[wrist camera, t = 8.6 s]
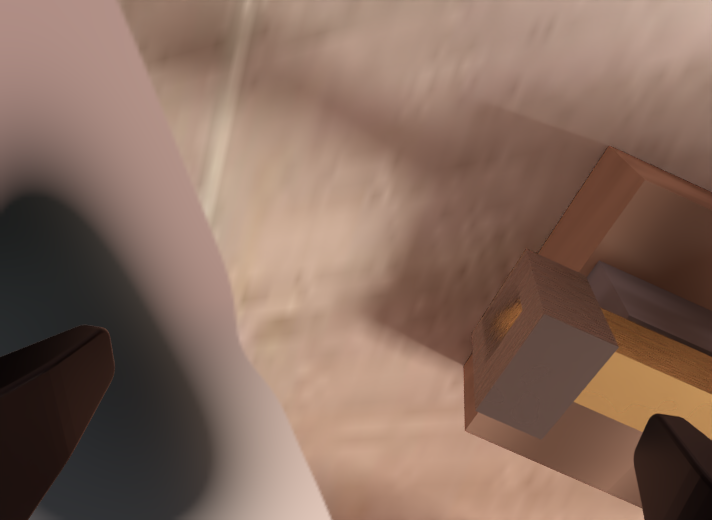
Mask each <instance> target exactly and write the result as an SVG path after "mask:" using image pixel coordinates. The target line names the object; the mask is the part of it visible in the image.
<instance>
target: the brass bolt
mask: <svg viewBox="0 0 712 520" xmlns="http://www.w3.org/2000/svg"><path fill="white" fill-rule="evenodd" d="M472 353H473V375H474V396H475V411H477V412H479V413H481V414H483V415H486V416H488V417H490V418H493V419H495V420H497V421H499V422H502V423H504V424H506V425H509V426H511V427H513V428H515V429H518V430H520V431H522V432H525V433H527V434H529V435H531V436H534V437H536V438H538V439H541V440H542V439H543V438H544V437H545V435H546V434H547V433H548V432H549V431H550V429H551V428H552V427H553V426H554V425H555V423H556V422H557V421H558V420H559V419H560V417H561V416H562V415H563V414H564V413H565V411H566V410H567V409H568V408H569V407H570V405H571V404H572V403H573V402H575V403H578V404H580V405H582V406H584V407H587V408H589V409H591V410H593V411H596V412H598V413H600V414H603V415H605V416H607V417H609V418H612V419H614V420H616V421H618V422H621V423H623V424H625V425H627V426H630V427H632V428H634V429H637V430H639V431H641V432H643V431H644V428H645V426H646V424H647V422H648V420H649V418H650V417H651V416H652V415H653V414H657V413H660V414H666V415H673V416H679V417H682V418H684V419H685V420H687V421H688V422H689V423H691V424H692V425H693V426H694V427H696V428H697V429H698V430H699V431H701V432H702V433H703V434H704V435H706V436H707V437H708V438H710V439H711V440H712V357H711V356H708V355H706V354H704V353H702V352H700V351H697V350H695V349H693V348H691V347H688V346H686V345H684V344H682V343H679V342H677V341H675V340H673V339H670V338H668V337H666V336H664V335H661V334H659V333H657V332H655V331H653V330H650V329H648V328H646V327H644V326H641V325H639V324H637V323H635V322H632V321H630V320H628V319H626V318H623V317H621V316H619V315H617V314H615V313H612V312H610V311H608V310H606V309H603V308H601V307H600V306H599V303H598V301H597V299H596V297H595V295H594V293H593V291H592V288H591V286H590V284H589V282H588V280H587V278H586V276H585V275H584V274H581V273H579V272H577V271H575V270H572V269H570V268H568V267H566V266H563V265H561V264H559V263H557V262H555V261H552V260H550V259H548V258H546V257H543V256H541V255H539V254H537V253H534V252H532V251H530V250H528V249H525V251H524V253H523V254H522V256H521V257H520V259H519V260H518V262H517V263H516V265H515V267H514V268H513V270H512V271H511V273H510V274H509V276H508V278H507V279H506V281H505V282H504V284H503V285H502V287H501V288H500V290H499V292H498V293H497V295H496V296H495V298H494V299H493V301H492V302H491V304H490V306H489V307H488V309H487V310H486V312H485V313H484V315H483V316H482V318H481V320H480V321H479V323H478V324H477V326H476V327H475V329H474V330H473V332H472Z"/></svg>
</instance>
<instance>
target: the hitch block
mask: <svg viewBox="0 0 712 520" xmlns="http://www.w3.org/2000/svg"><path fill="white" fill-rule="evenodd" d="M538 254H539V255H541V256H543V257H546V258H548V259H550V260H552V261H555V262H557V263H559V264H561V265H563V266H566V267H568V268H570V269H572V270H575V271H577V272H579V273H581V274H584V275H585V276H586V278H587V280H588V282H589V284H590V286H591V288H592V291H593V293H594V295H595V297H596V299H597V301H598V303H599V306H600V307H601V308H603V309H606V310H608V311H610V312H612V313H615V314H617V315H619V316H621V317H623V318H626V319H628V320H630V321H632V322H635V323H637V324H639V325H641V326H644V327H646V328H648V329H650V330H653V331H655V332H657V333H659V334H661V335H664V336H666V337H668V338H670V339H673V340H675V341H677V342H679V343H682V344H684V345H686V346H688V347H691V348H693V349H695V350H697V351H700V352H702V353H704V354H706V355H708V356H711V357H712V192H710V191H708V190H705V189H703V188H701V187H699V186H697V185H694V184H692V183H690V182H688V181H686V180H684V179H681V178H679V177H677V176H675V175H673V174H670V173H668V172H666V171H664V170H662V169H659V168H657V167H655V166H653V165H651V164H648V163H646V162H644V161H642V160H640V159H638V158H635V157H633V156H631V155H629V154H627V153H624V152H622V151H620V150H618V149H616V148H613V147H611V146H608V148H607V149H606V151H605V152H604V154H603V156H602V157H601V159H600V160H599V162H598V163H597V165H596V166H595V168H594V169H593V171H592V172H591V174H590V175H589V177H588V178H587V180H586V181H585V183H584V184H583V186H582V187H581V189H580V190H579V192H578V193H577V195H576V197H575V198H574V200H573V201H572V203H571V204H570V206H569V207H568V209H567V210H566V212H565V213H564V215H563V216H562V218H561V219H560V221H559V222H558V224H557V225H556V227H555V228H554V230H553V231H552V233H551V234H550V236H549V238H548V239H547V241H546V242H545V244H544V245H543V247H542V248H541V250H540V251H539V253H538ZM464 411H465V431H466V432H468V433H471V434H473V435H475V436H478V437H480V438H482V439H485V440H487V441H489V442H491V443H494V444H496V445H498V446H501V447H503V448H505V449H507V450H510V451H512V452H514V453H517V454H519V455H521V456H523V457H526V458H528V459H530V460H533V461H535V462H537V463H540V464H542V465H544V466H546V467H549V468H551V469H553V470H556V471H558V472H560V473H562V474H565V475H567V476H569V477H572V478H574V479H576V480H578V481H581V482H583V483H585V484H588V485H590V486H592V487H595V488H597V489H599V490H601V491H604V492H606V493H608V494H611V495H613V496H615V497H617V498H620V499H622V500H624V501H627V502H629V503H631V504H633V505H636V506H638V507H640V508H642V504H641V499H640V494H639V489H638V484H637V479H636V474H635V469H634V461H633V458H634V451H635V448H636V446H637V444H638V442H639V439H640V437H641V435H642V433H643V432H641V431H639V430H637V429H634V428H632V427H630V426H627V425H625V424H623V423H621V422H618V421H616V420H614V419H612V418H609V417H607V416H605V415H603V414H600V413H598V412H596V411H593V410H591V409H589V408H587V407H584V406H582V405H580V404H578V403H575V402H573V403H572V404H571V405H570V407H569V408H568V409H567V410H566V411H565V413H564V414H563V415H562V416H561V417H560V419H559V420H558V421H557V422H556V423H555V425H554V426H553V427H552V428H551V429H550V431H549V432H548V433H547V434H546V435H545V437H544V438H543V439H542V440H541V439H538V438H536V437H534V436H531V435H529V434H527V433H525V432H522V431H520V430H518V429H515V428H513V427H511V426H509V425H506V424H504V423H502V422H499V421H497V420H495V419H493V418H490V417H488V416H486V415H483V414H481V413H479V412H477V411H475V396H474V375H473V353H472V354H471V356H470V357H469V359H468V360H467V362H466V364H465V365H464Z"/></svg>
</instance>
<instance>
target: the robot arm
mask: <svg viewBox="0 0 712 520" xmlns="http://www.w3.org/2000/svg"><path fill="white" fill-rule="evenodd" d="M114 371H115V363H114V357H113V351H112V345H111V339H110V335H109V333H108V331H107V330H106V329H105V328H103V327H96V326H90V325H80V326H78V327H75V328H72V329H70V330H67V331H65V332H62V333H60V334H57V335H55V336H52V337H50V338H47V339H45V340H42V341H40V342H37V343H35V344H32V345H29V346H27V347H25V348H22V349H19V350H17V351H14V352H12V353H9V354H7V355H4V356H2V357H0V520H28V519H29V518H30V516H31V515H32V513H33V512H34V510H35V509H36V507H37V506H38V504H39V503H40V501H41V500H42V499H43V497H44V496H45V494H46V492H47V491H48V490H49V488H50V487H51V485H52V484H53V482H54V481H55V479H56V478H57V476H58V475H59V473H60V472H61V470H62V469H63V467H64V465H65V464H66V462H67V461H68V460H69V458H70V456H71V455H72V453H73V451H74V449H75V448H76V446H77V444H78V442H79V441H80V438H81V437H82V435H83V433H84V431H85V429H86V427H87V426H88V424H89V422H90V420H91V418H92V416H93V414H94V412H95V411H96V409H97V407H98V405H99V403H100V401H101V400H102V397H103V396H104V394H105V392H106V390H107V388H108V387H109V385H110V383H111V381H112V379H113V376H114ZM633 461H634V469H635V474H636V479H637V484H638V489H639V494H640V499H641V504H642V509H643V514H644V519H645V520H712V440H711V439H710V438H708V437H707V436H706V435H704V434H703V433H702V432H701V431H699V430H698V429H697V428H696V427H694V426H693V425H692V424H691V423H689V422H688V421H687V420H685V419H684V418H682V417H679V416H673V415H666V414H660V413H657V414H653V415H652V416H651V417H650V418H649V420H648V422H647V424H646V426H645V428H644V431H643V433H642V435H641V437H640V439H639V442H638V444H637V446H636V448H635V451H634V458H633Z"/></svg>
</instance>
